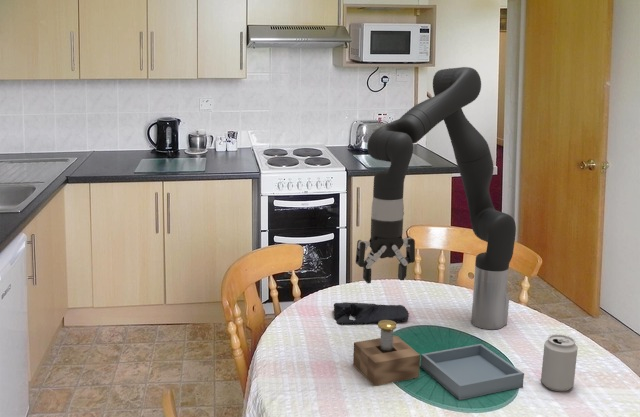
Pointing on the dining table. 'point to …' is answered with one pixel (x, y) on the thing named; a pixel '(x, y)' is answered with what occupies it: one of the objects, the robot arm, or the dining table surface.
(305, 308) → the dining table surface
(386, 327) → the pin
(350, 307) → the dark slate chunk
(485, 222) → the robot arm
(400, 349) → the pin block
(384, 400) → the dining table surface
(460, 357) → the tray
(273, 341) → the dining table surface
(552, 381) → the can
